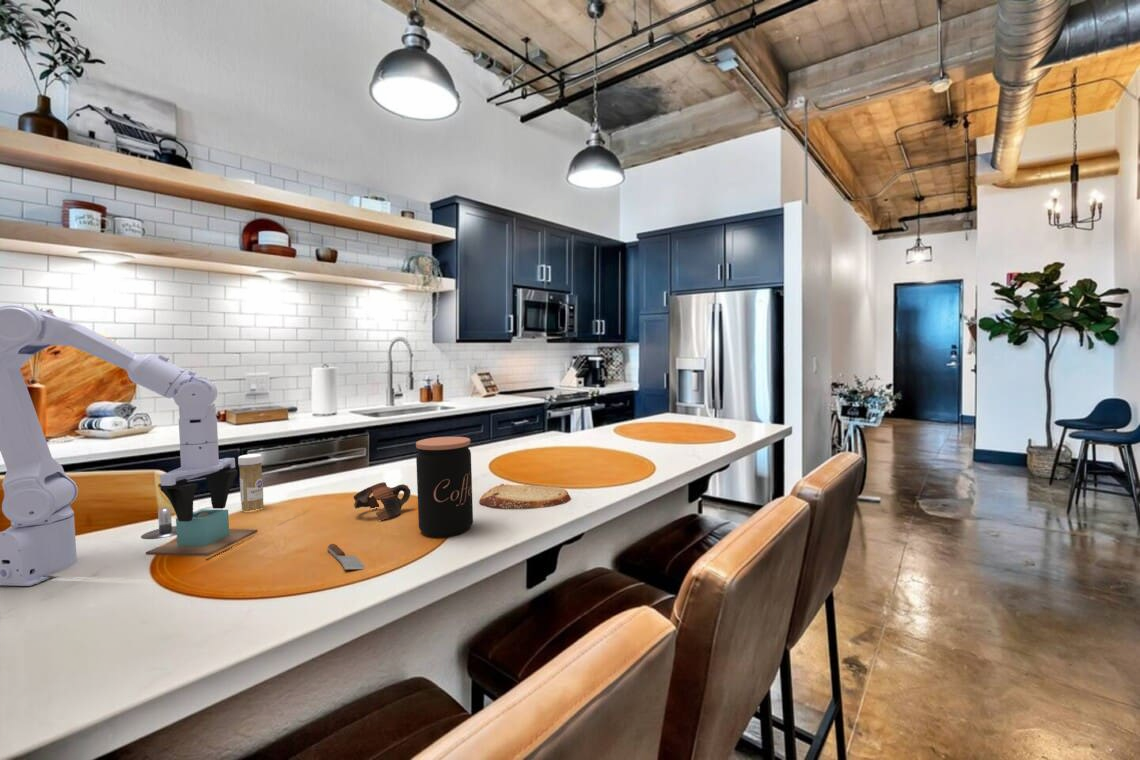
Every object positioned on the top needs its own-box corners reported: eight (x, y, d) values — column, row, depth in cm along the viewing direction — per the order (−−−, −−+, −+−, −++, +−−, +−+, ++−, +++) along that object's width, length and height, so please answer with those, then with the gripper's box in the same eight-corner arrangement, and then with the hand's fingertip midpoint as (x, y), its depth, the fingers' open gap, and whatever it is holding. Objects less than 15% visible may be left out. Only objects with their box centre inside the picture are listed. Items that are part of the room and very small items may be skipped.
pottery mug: (367, 528, 104) (351, 492, 105) (362, 536, 111) (347, 502, 113) (421, 502, 111) (405, 469, 112) (412, 511, 118) (398, 480, 120)
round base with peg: (166, 543, 96) (164, 515, 96) (130, 542, 97) (128, 514, 97) (199, 529, 104) (197, 503, 103) (165, 529, 104) (164, 503, 104)
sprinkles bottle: (258, 515, 112) (255, 456, 112) (236, 517, 112) (233, 457, 111) (268, 509, 117) (265, 452, 116) (247, 510, 116) (244, 453, 116)
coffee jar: (433, 543, 93) (430, 447, 92) (409, 529, 101) (406, 441, 100) (483, 529, 100) (480, 440, 99) (457, 517, 108) (454, 434, 107)
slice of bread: (577, 500, 120) (577, 485, 120) (520, 519, 107) (520, 502, 107) (528, 488, 132) (527, 474, 132) (471, 503, 119) (471, 488, 119)
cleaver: (374, 564, 83) (342, 565, 80) (372, 573, 83) (340, 574, 80) (356, 542, 94) (327, 542, 91) (354, 550, 94) (325, 551, 91)
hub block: (208, 559, 87) (206, 523, 87) (145, 558, 89) (143, 522, 88) (257, 535, 99) (256, 503, 99) (202, 534, 100) (200, 502, 100)
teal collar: (205, 546, 91) (204, 518, 91) (177, 545, 91) (175, 518, 91) (229, 535, 96) (228, 509, 96) (202, 534, 97) (201, 509, 97)
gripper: (185, 449, 85) (189, 527, 86) (247, 436, 100) (251, 503, 100) (147, 449, 86) (152, 526, 87) (215, 436, 101) (218, 502, 101)
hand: (202, 514), depth 94 cm, fingers open, 7 cm apart
